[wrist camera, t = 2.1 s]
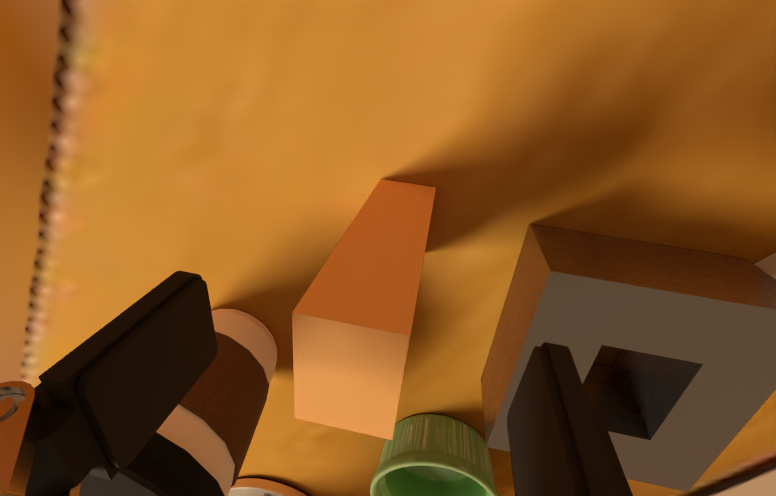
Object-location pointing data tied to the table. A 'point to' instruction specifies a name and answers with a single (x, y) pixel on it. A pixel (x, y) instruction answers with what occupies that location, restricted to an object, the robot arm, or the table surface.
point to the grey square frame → (641, 345)
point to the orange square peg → (363, 314)
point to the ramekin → (434, 460)
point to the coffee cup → (205, 421)
